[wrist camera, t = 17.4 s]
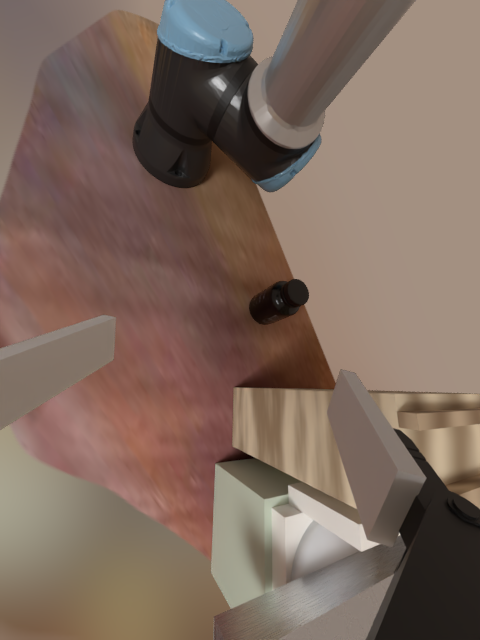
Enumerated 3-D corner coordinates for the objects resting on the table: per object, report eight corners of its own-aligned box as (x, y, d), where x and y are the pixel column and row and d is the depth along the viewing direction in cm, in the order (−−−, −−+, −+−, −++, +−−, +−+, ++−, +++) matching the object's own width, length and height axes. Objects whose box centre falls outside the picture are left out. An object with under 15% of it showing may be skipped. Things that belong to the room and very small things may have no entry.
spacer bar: (212, 680, 19) (235, 744, 16) (213, 616, 20) (235, 663, 17) (422, 559, 33) (459, 580, 30) (417, 524, 34) (452, 540, 31)
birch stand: (232, 446, 44) (437, 550, 17) (233, 387, 46) (413, 394, 19) (309, 438, 52) (533, 499, 25) (307, 388, 54) (507, 394, 27)
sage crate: (211, 572, 38) (265, 670, 25) (215, 463, 42) (264, 499, 29) (289, 545, 44) (363, 612, 32) (286, 453, 48) (352, 479, 35)
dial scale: (273, 653, 26) (357, 789, 17) (271, 488, 29) (339, 531, 21) (357, 605, 31) (452, 689, 23) (346, 472, 35) (424, 502, 27)
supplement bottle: (279, 307, 56) (318, 290, 45) (266, 331, 52) (305, 319, 42) (257, 288, 54) (292, 265, 43) (242, 311, 51) (277, 293, 40)
